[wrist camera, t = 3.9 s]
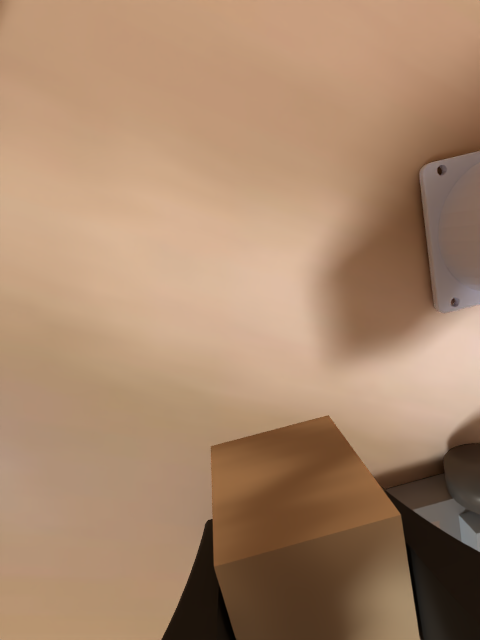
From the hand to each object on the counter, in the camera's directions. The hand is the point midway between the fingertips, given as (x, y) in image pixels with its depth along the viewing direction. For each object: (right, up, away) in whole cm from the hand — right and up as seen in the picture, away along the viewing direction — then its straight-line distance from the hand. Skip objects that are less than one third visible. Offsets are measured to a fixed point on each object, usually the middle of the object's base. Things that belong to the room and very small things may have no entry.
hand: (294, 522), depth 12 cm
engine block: (0, 0, +1) cm, 2 cm away
